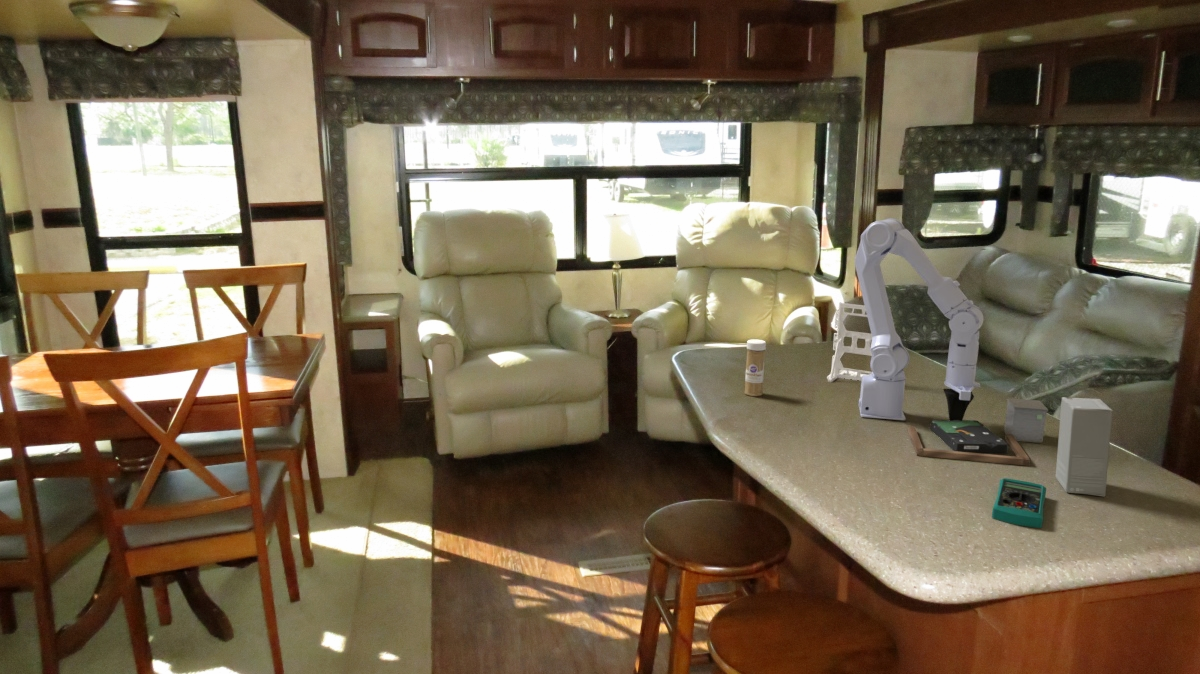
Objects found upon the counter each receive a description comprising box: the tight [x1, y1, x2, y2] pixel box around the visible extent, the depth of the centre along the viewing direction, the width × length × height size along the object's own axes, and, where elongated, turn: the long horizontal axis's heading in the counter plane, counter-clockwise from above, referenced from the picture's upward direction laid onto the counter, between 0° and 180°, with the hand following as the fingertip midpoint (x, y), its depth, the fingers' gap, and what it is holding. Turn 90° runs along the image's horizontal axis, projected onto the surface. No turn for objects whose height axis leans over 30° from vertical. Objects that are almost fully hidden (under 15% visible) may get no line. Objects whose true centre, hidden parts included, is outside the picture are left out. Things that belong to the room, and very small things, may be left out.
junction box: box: [1004, 397, 1049, 444], centre depth 172 cm, size 6×6×7 cm
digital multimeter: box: [991, 477, 1047, 529], centre depth 138 cm, size 7×15×3 cm, turn 150°
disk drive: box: [929, 419, 1009, 455], centre depth 170 cm, size 10×3×15 cm
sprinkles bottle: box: [743, 338, 767, 397], centre depth 200 cm, size 5×5×14 cm
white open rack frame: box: [826, 302, 894, 383], centre depth 213 cm, size 14×14×20 cm
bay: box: [907, 425, 1031, 467], centre depth 166 cm, size 20×15×1 cm
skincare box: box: [1054, 396, 1114, 497], centre depth 146 cm, size 8×7×16 cm
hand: (955, 422), depth 179 cm, fingers closed
